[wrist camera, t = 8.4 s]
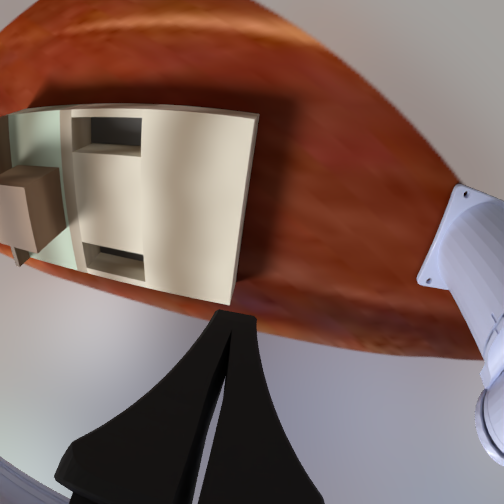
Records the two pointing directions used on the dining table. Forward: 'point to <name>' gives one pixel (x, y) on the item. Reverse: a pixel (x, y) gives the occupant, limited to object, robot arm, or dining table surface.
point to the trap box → (142, 190)
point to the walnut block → (31, 207)
